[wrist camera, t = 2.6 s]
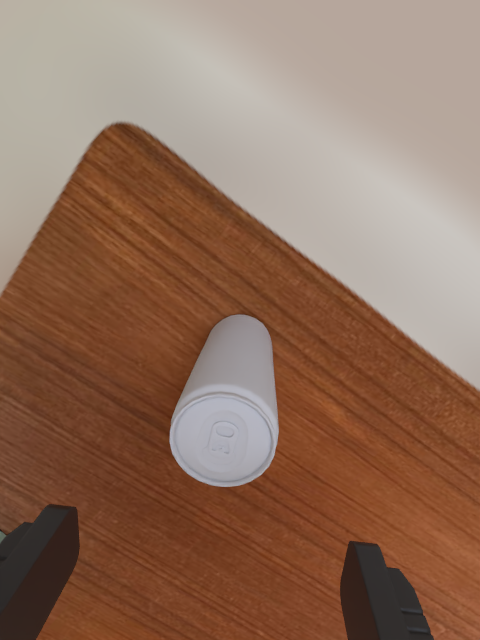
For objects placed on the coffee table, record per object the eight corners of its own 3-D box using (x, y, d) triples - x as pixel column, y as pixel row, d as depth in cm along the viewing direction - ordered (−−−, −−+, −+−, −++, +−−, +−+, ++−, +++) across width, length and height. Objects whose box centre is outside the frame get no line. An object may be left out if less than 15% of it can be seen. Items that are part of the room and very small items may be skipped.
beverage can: (202, 364, 27) (157, 475, 16) (215, 305, 26) (176, 379, 14) (263, 379, 27) (263, 500, 16) (279, 320, 26) (292, 407, 14)
